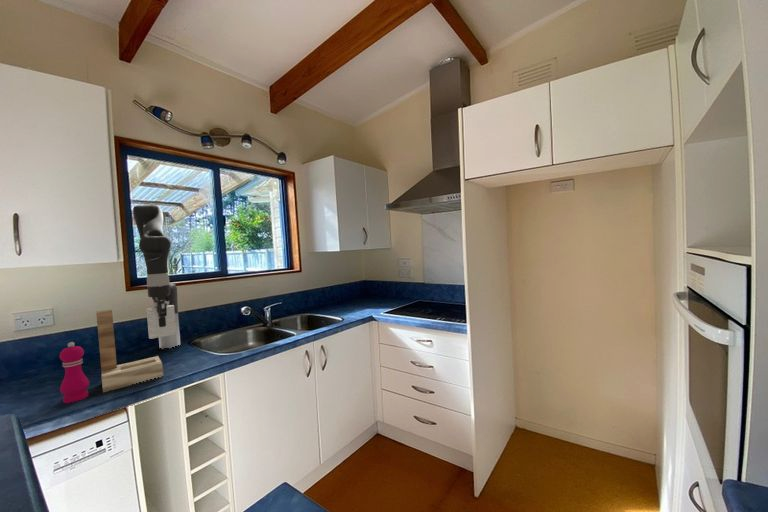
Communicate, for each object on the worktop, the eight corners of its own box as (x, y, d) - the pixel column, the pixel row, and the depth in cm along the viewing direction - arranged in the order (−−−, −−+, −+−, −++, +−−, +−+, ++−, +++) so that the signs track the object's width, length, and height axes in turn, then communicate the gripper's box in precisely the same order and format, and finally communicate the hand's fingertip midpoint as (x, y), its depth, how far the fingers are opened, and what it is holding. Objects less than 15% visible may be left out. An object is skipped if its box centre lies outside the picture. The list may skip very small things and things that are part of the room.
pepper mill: (93, 392, 114) (88, 337, 114) (86, 400, 108) (80, 342, 107) (66, 397, 111) (61, 341, 110) (57, 406, 105) (51, 347, 104)
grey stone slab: (148, 337, 128) (146, 308, 128) (174, 332, 134) (172, 304, 134) (149, 339, 126) (147, 309, 126) (176, 333, 132) (174, 305, 132)
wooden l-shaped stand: (102, 382, 122) (96, 311, 121) (158, 368, 134) (153, 303, 133) (103, 392, 113) (96, 315, 112) (163, 376, 126) (157, 307, 124)
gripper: (144, 284, 132) (148, 325, 133) (150, 286, 122) (153, 330, 122) (166, 282, 137) (169, 321, 138) (172, 284, 127) (176, 326, 128)
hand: (161, 325), depth 130 cm, fingers closed on grey stone slab, 3 cm apart
